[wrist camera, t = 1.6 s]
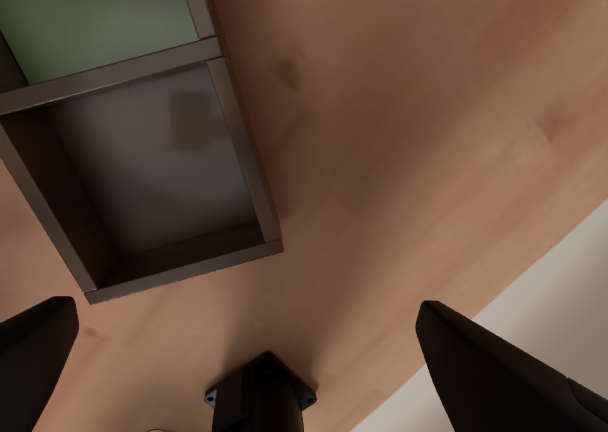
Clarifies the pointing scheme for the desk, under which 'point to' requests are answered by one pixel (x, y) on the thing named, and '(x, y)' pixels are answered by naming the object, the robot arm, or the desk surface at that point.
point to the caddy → (132, 140)
